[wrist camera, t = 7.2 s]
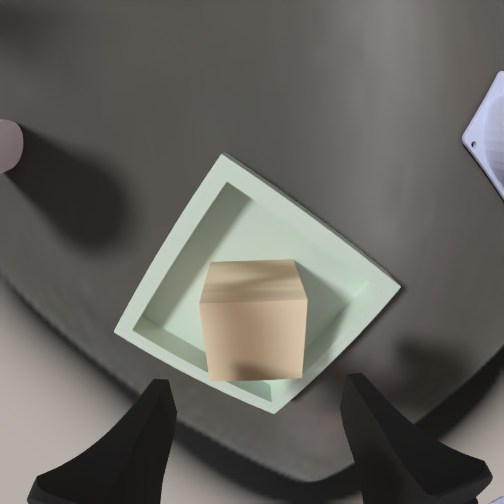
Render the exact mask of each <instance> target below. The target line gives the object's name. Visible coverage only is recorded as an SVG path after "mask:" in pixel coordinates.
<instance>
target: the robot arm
mask: <svg viewBox="0 0 504 504" xmlns="http://www.w3.org/2000/svg"><path fill="white" fill-rule="evenodd" d="M462 141H463V144H464V145H465V147H466V148H467V149H468V150H469V152H470V153H471V154H472V156H473V157H474V158H475V160H476V161H477V162H478V164H479V165H480V166H481V168H482V169H483V170H484V172H485V173H486V175H487V176H488V177H489V179H490V180H491V182H492V183H493V185H494V186H495V188H496V189H497V191H498V192H499V194H500V195H501V197H502V198H503V200H504V71H499V72H498V74H497V76H496V78H495V80H494V82H493V84H492V86H491V87H490V89H489V91H488V93H487V95H486V97H485V98H484V100H483V102H482V104H481V105H480V107H479V109H478V111H477V112H476V114H475V116H474V117H473V119H472V121H471V122H470V124H469V126H468V127H467V129H466V131H465V132H464V134H463V136H462ZM472 142H473V147H472V146H471V144H472ZM340 410H341V416H342V421H343V426H344V430H345V433H346V436H347V440H348V443H349V446H350V449H351V452H352V455H353V458H354V461H355V464H356V467H357V471H358V475H359V478H360V485H361V490H362V495H363V503H364V504H478V500H477V498H476V496H477V495H479V494H480V493H481V492H482V491H483V490H484V489H485V488H486V487H487V486H488V485H489V484H490V482H491V481H492V478H493V476H492V474H491V472H490V470H489V468H488V466H487V465H486V463H485V461H483V460H480V459H477V458H474V457H471V456H469V455H465V454H463V453H461V452H459V451H456V450H454V449H452V448H450V447H448V446H446V445H444V444H442V443H441V442H439V441H437V440H436V439H434V438H432V437H431V436H429V435H427V434H426V433H425V432H423V431H422V430H420V429H419V428H418V427H416V426H415V425H414V424H412V423H411V422H410V421H409V420H408V419H406V418H405V417H404V416H403V415H402V414H401V413H400V412H399V411H397V410H396V409H395V408H394V407H393V406H392V405H391V404H390V403H389V402H388V401H387V400H386V399H385V398H384V397H383V396H382V395H381V394H380V392H379V391H378V390H377V389H376V388H375V387H374V386H373V385H372V384H371V383H370V382H369V380H368V379H367V378H366V377H365V376H364V375H363V374H362V373H357V374H349V375H347V379H346V384H345V388H344V392H343V397H342V401H341V405H340ZM176 416H177V410H176V407H175V403H174V399H173V396H172V392H171V388H170V384H169V380H164V379H154V380H152V382H151V383H150V384H149V386H148V387H147V388H146V389H145V391H144V392H143V393H142V395H141V396H140V397H139V398H138V400H137V401H136V402H135V403H134V405H133V406H132V407H131V408H130V409H129V410H128V412H127V413H126V414H125V415H124V416H123V417H122V418H121V419H120V420H119V421H118V422H117V424H116V425H115V426H114V427H113V428H112V429H111V430H110V431H109V432H107V434H105V435H104V436H103V437H102V438H101V439H100V440H99V441H97V442H96V443H95V444H94V445H92V446H91V447H90V448H88V449H87V450H86V451H84V452H83V453H81V454H80V455H78V456H77V457H75V458H73V459H72V460H70V461H68V462H67V463H65V464H63V465H62V466H59V467H57V468H56V469H53V470H51V471H48V472H46V473H44V474H41V475H39V476H37V478H36V480H35V482H34V484H33V486H32V488H31V491H30V493H29V495H28V498H27V502H28V503H29V504H160V500H161V491H162V483H163V477H164V473H165V469H166V465H167V461H168V457H169V453H170V449H171V444H172V441H173V437H174V432H175V425H176ZM489 504H504V496H501V497H500V498H498V499H496V500H494V501H492V502H491V503H489Z"/></svg>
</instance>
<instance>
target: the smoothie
mask: <svg viewBox="0 0 504 504" xmlns="http://www.w3.org/2000/svg"><path fill="white" fill-rule="evenodd" d="M22 151H23V134H22V131H21V129H20V127H19V126H18V124H17V123H15V122H13V121H9V120H3V119H0V174H1V173H3V172H6V171H8V170H10V169H12V168H13V167H14V166H16V164H17V163H18V161H19V160H20V157H21V155H22Z"/></svg>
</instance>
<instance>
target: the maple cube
mask: <svg viewBox="0 0 504 504" xmlns="http://www.w3.org/2000/svg"><path fill="white" fill-rule="evenodd" d="M307 300H308V299H307V297H306V294H305V291H304V288H303V285H302V282H301V279H300V277H299V274H298V271H297V268H296V265H295V262H294V260H293V259H286V260H256V261H225V262H210V265H209V269H208V272H207V276H206V280H205V283H204V287H203V291H202V294H201V298H200V302H199V306H200V314H201V322H202V330H203V337H204V344H205V352H206V358H207V365H208V372H209V378H210V381H258V380H280V379H296V378H302V369H303V357H304V345H305V331H306V316H307Z"/></svg>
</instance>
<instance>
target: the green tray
mask: <svg viewBox="0 0 504 504" xmlns="http://www.w3.org/2000/svg"><path fill="white" fill-rule="evenodd" d="M286 259H293V260H294V262H295V265H296V268H297V271H298V274H299V277H300V279H301V282H302V285H303V288H304V291H305V294H306V297H307V299H308V300H307V316H306V331H305V345H304V357H303V369H302V378H296V379H280V380H258V381H210V378H209V372H208V365H207V358H206V352H205V344H204V337H203V330H202V322H201V314H200V306H199V302H200V298H201V294H202V291H203V287H204V283H205V280H206V276H207V272H208V269H209V265H210V262H225V261H256V260H286ZM400 288H401V286H400V285H399V284H398V283H397V282H396V281H395V280H394V279H393V278H392V276H391V275H390V274H389V273H388V272H387V271H386V270H385V269H383V268H382V267H381V266H380V265H379V264H377V263H376V262H375V261H374V260H372V259H371V258H370V257H369V256H367V255H366V254H365V253H364V252H362V251H361V250H360V249H359V248H357V247H356V246H355V245H353V244H352V243H351V242H350V241H348V240H347V239H346V238H344V237H343V236H342V235H341V234H339V233H338V232H337V231H335V230H334V229H333V228H331V227H330V226H329V225H327V224H326V223H325V222H323V221H322V220H321V219H319V218H318V217H317V216H315V215H314V214H313V213H311V212H310V211H309V210H307V209H306V208H305V207H303V206H302V205H301V204H299V203H298V202H296V201H295V200H294V199H292V198H291V197H290V196H288V195H287V194H285V193H284V192H283V191H281V190H280V189H278V188H277V187H276V186H274V185H273V184H271V183H270V182H268V181H267V180H266V179H264V178H263V177H261V176H260V175H258V174H257V173H256V172H254V171H253V170H251V169H250V168H248V167H247V166H245V165H244V164H242V163H241V162H239V161H238V160H236V159H235V158H233V157H232V156H230V155H229V154H227V153H226V152H224V153H222V154H221V156H220V157H219V158H218V160H217V161H216V163H215V164H214V166H213V167H212V169H211V170H210V172H209V173H208V175H207V176H206V178H205V179H204V181H203V182H202V184H201V185H200V187H199V188H198V190H197V191H196V193H195V194H194V196H193V197H192V199H191V200H190V202H189V204H188V205H187V207H186V208H185V210H184V211H183V213H182V215H181V216H180V218H179V219H178V221H177V222H176V224H175V226H174V227H173V229H172V231H171V232H170V234H169V235H168V237H167V239H166V240H165V242H164V244H163V245H162V247H161V249H160V250H159V252H158V254H157V255H156V257H155V259H154V260H153V262H152V264H151V265H150V267H149V269H148V271H147V272H146V274H145V276H144V278H143V279H142V281H141V283H140V285H139V286H138V288H137V290H136V292H135V293H134V295H133V297H132V299H131V301H130V302H129V304H128V306H127V308H126V310H125V312H124V313H123V315H122V317H121V319H120V321H119V323H118V325H117V327H116V329H115V330H114V332H115V333H116V334H118V335H119V336H121V337H123V338H124V339H126V340H128V341H129V342H131V343H133V344H134V345H136V346H138V347H139V348H141V349H143V350H144V351H146V352H148V353H150V354H151V355H153V356H155V357H157V358H158V359H160V360H162V361H164V362H166V363H167V364H169V365H171V366H173V367H175V368H177V369H179V370H180V371H182V372H184V373H186V374H188V375H190V376H192V377H194V378H196V379H198V380H200V381H202V382H204V383H206V384H208V385H210V386H212V387H214V388H216V389H218V390H220V391H222V392H225V393H227V394H229V395H231V396H233V397H235V398H238V399H240V400H242V401H244V402H247V403H249V404H251V405H254V406H256V407H258V408H261V409H263V410H265V411H268V412H270V413H273V414H275V413H276V412H277V411H278V410H280V409H281V408H282V407H283V406H284V405H285V404H287V403H288V402H289V401H290V400H291V399H292V398H293V397H295V396H296V395H297V394H298V393H299V392H300V391H301V390H302V389H303V388H305V387H306V386H307V385H308V384H309V383H310V382H311V381H312V380H313V379H314V378H315V377H316V376H318V375H319V374H320V373H321V372H322V371H323V370H324V369H325V368H326V367H327V366H328V365H329V364H330V363H331V362H332V361H333V360H334V359H335V358H336V357H337V356H338V355H339V354H340V353H341V352H342V351H343V350H344V349H345V348H346V347H347V346H348V345H349V344H350V343H351V342H352V341H353V340H354V339H355V338H356V337H357V336H358V335H359V334H360V333H361V332H362V330H363V329H364V328H365V327H366V326H367V325H368V324H369V323H370V322H371V321H372V320H373V319H374V317H375V316H376V315H377V314H378V313H379V312H380V311H381V310H382V309H383V307H384V306H385V305H386V304H387V303H388V302H389V301H390V299H391V298H392V297H393V296H394V295H395V294H396V292H397V291H398V290H399V289H400Z"/></svg>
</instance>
